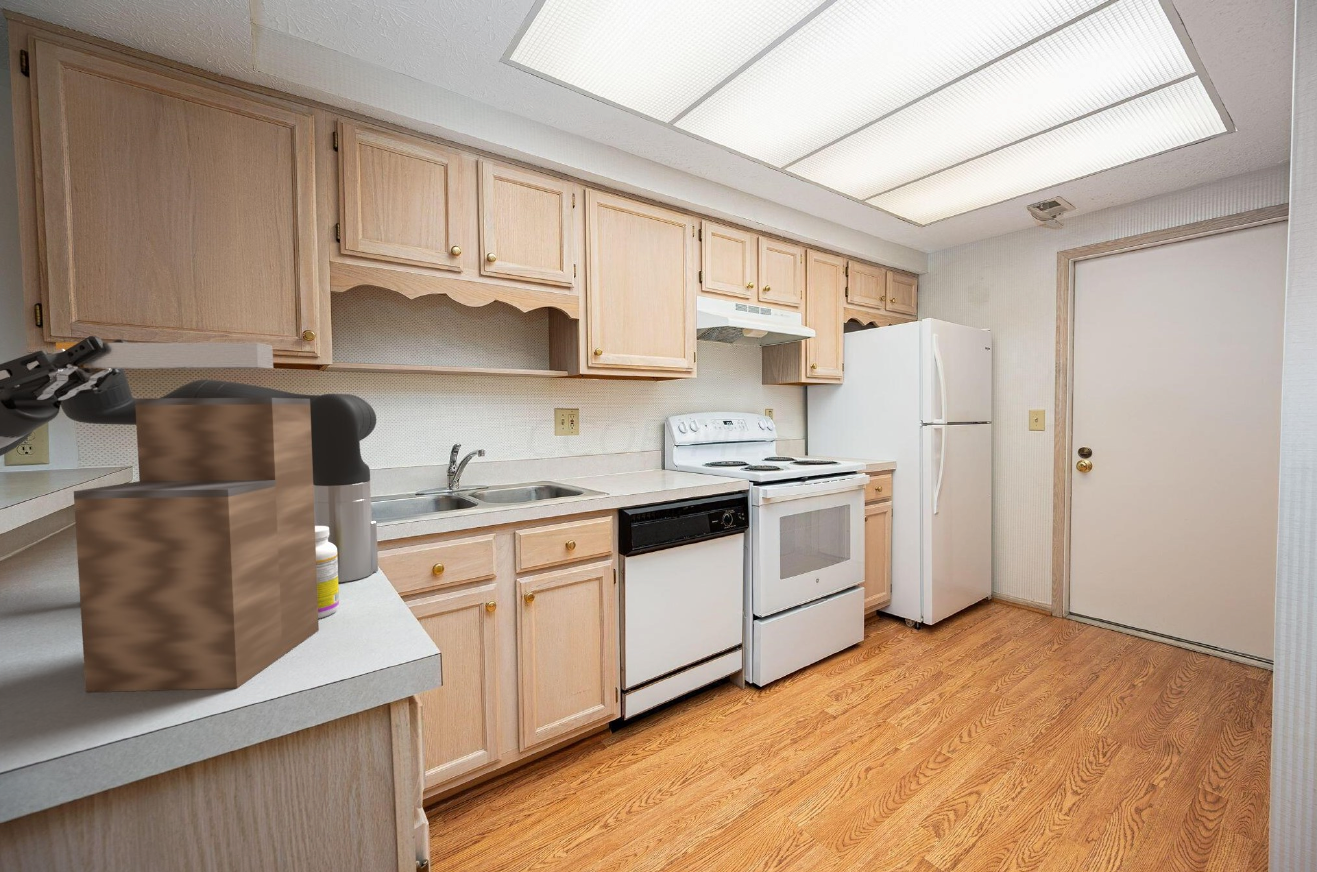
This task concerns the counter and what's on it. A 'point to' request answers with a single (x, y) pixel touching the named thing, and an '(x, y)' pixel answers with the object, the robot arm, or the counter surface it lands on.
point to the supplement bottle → (326, 573)
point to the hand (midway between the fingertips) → (114, 344)
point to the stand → (200, 547)
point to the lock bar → (180, 356)
